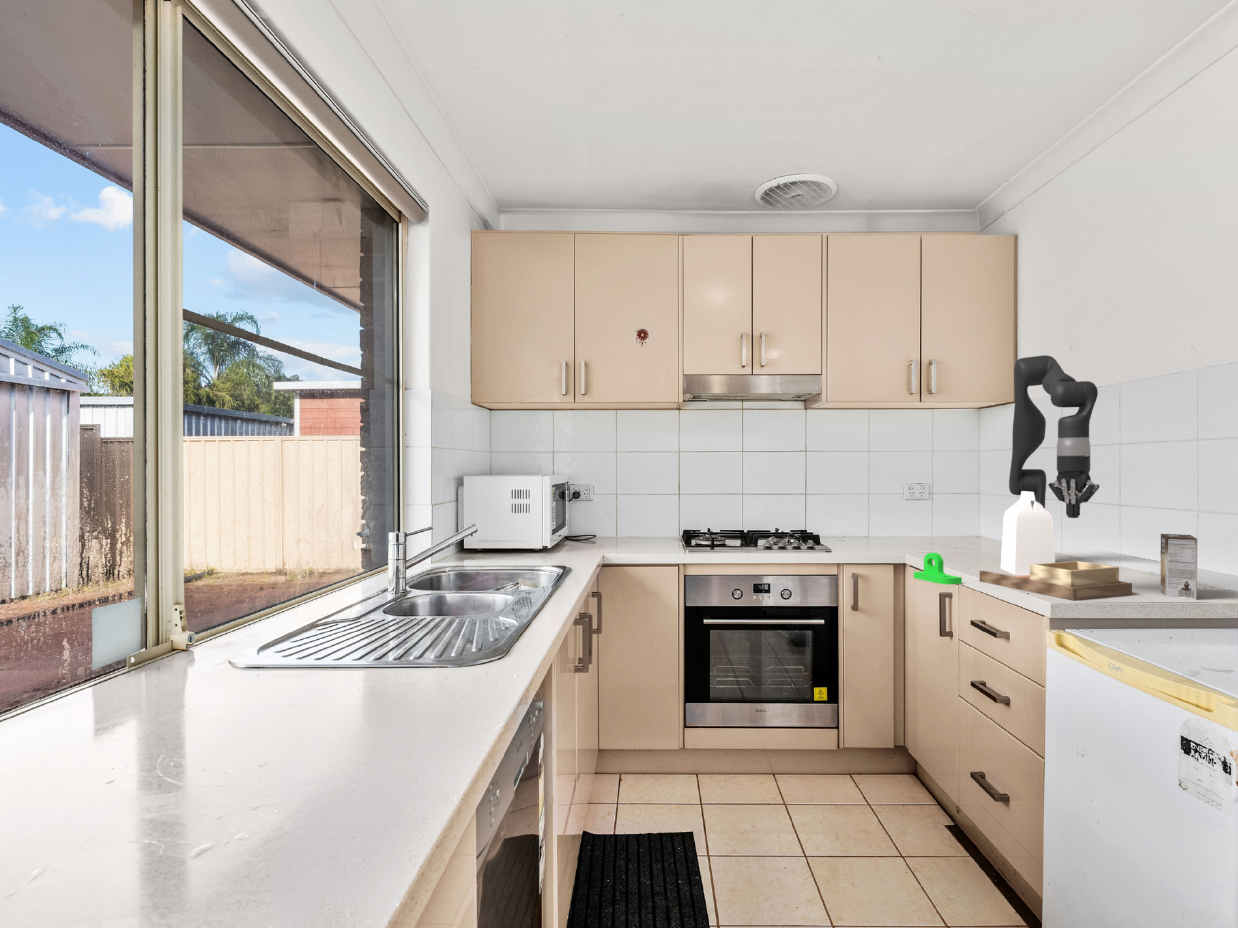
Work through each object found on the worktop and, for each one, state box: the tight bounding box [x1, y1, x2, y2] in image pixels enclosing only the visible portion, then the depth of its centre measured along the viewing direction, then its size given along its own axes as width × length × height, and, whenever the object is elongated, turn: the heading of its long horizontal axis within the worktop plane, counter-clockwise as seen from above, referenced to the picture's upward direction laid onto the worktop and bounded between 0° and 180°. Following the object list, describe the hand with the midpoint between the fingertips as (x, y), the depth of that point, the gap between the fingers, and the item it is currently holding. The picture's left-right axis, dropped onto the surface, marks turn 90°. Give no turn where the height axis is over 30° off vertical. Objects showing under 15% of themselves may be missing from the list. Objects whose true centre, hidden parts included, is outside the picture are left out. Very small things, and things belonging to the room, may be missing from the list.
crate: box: [1030, 560, 1120, 587], centre depth 175 cm, size 12×18×6 cm, turn 109°
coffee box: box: [1160, 533, 1198, 600], centre depth 170 cm, size 9×6×16 cm
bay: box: [979, 570, 1133, 601], centre depth 181 cm, size 28×22×3 cm
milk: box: [1000, 491, 1056, 576], centre depth 206 cm, size 12×12×26 cm
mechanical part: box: [913, 552, 963, 585], centre depth 191 cm, size 12×6×8 cm, turn 20°
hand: (1073, 517), depth 175 cm, fingers closed
